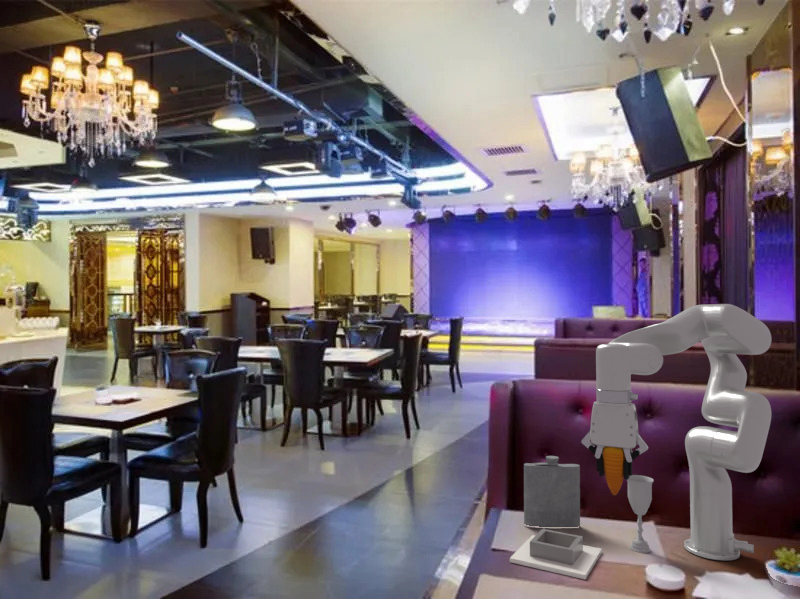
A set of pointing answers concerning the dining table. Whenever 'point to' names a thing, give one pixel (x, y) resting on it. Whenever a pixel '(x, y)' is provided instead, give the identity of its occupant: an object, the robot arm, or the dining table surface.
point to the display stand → (557, 554)
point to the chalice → (640, 506)
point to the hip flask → (552, 494)
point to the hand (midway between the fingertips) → (614, 475)
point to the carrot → (614, 467)
